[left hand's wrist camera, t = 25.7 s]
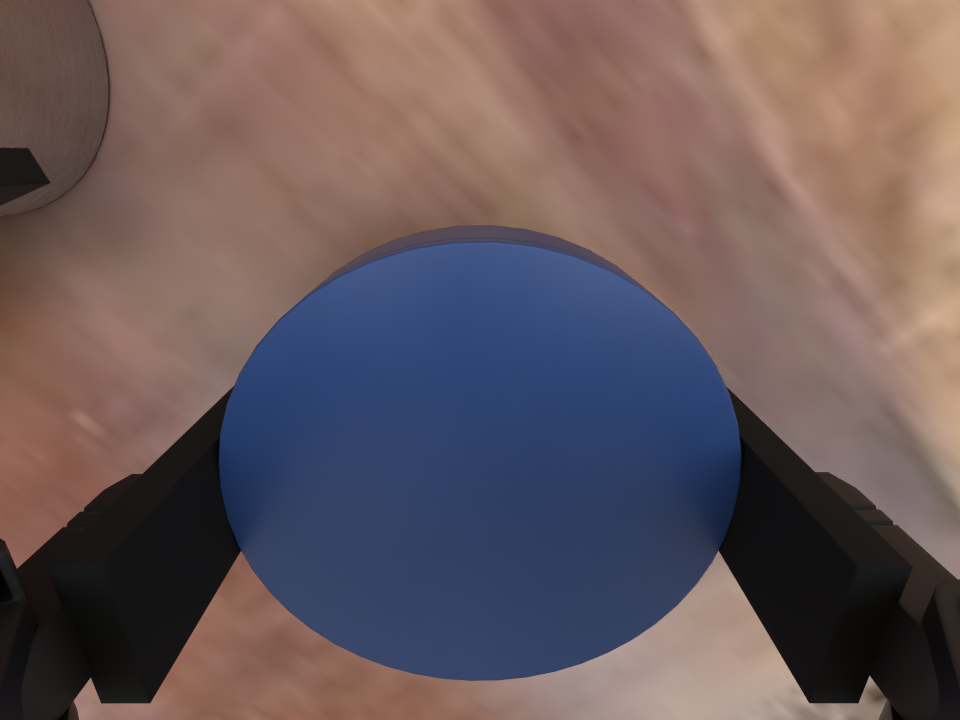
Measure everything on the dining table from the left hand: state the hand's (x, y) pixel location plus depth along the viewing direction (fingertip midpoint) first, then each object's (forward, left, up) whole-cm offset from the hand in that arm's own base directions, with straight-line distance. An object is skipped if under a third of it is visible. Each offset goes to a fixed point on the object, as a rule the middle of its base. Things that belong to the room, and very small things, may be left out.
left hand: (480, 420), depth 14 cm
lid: (0, 0, +3) cm, 3 cm away
